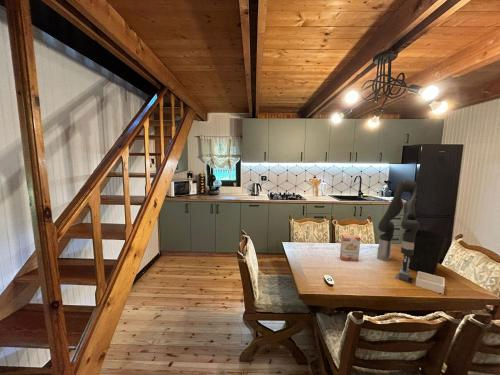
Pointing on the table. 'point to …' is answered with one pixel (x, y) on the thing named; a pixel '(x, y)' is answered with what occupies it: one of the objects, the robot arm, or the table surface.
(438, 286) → the parts tray
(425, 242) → the bucket
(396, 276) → the stud mount
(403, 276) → the knob
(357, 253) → the cracker box
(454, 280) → the table surface
